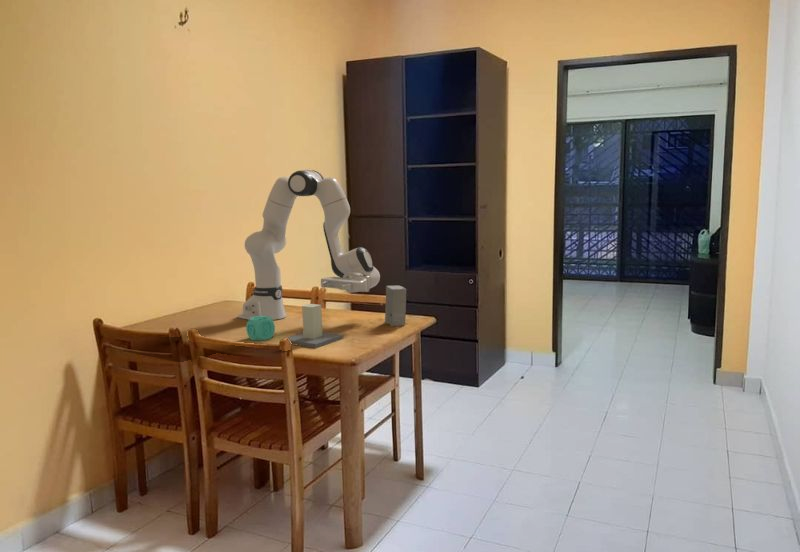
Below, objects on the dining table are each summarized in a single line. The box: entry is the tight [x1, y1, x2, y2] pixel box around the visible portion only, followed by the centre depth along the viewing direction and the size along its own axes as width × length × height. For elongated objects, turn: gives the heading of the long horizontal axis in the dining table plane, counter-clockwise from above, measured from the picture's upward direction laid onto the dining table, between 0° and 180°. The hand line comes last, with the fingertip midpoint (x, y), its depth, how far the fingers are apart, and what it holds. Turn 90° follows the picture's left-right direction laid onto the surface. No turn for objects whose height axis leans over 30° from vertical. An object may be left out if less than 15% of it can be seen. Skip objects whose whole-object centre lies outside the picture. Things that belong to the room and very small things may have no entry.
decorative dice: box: [245, 316, 276, 342], centre depth 236 cm, size 8×8×8 cm
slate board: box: [287, 331, 344, 349], centre depth 231 cm, size 16×16×2 cm
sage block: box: [301, 303, 323, 339], centre depth 230 cm, size 5×5×12 cm
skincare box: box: [384, 285, 407, 327], centre depth 255 cm, size 8×7×16 cm
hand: (331, 286), depth 243 cm, fingers open, 8 cm apart
